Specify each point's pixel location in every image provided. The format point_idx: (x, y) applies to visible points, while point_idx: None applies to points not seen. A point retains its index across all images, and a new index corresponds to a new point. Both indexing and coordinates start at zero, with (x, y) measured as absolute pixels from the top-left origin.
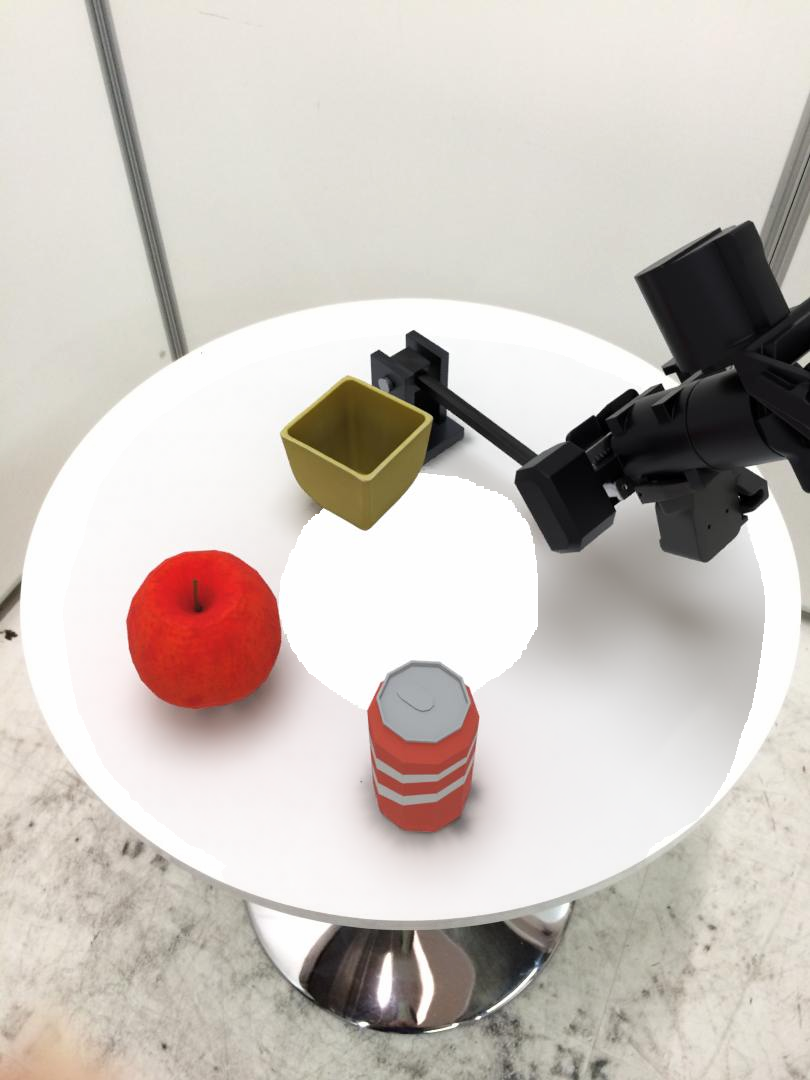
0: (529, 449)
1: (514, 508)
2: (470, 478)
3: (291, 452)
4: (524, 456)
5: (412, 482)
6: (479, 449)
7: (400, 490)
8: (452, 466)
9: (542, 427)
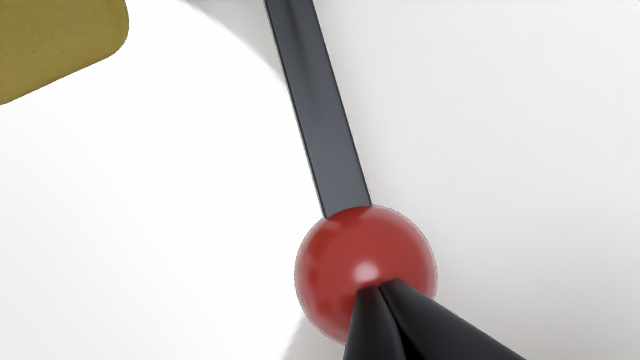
0: (352, 151)
1: None
2: None
3: None
4: (318, 172)
5: (107, 45)
6: (351, 3)
7: (40, 63)
8: None
9: (519, 7)
